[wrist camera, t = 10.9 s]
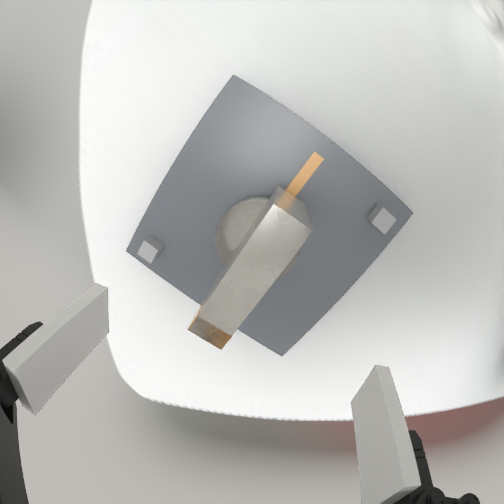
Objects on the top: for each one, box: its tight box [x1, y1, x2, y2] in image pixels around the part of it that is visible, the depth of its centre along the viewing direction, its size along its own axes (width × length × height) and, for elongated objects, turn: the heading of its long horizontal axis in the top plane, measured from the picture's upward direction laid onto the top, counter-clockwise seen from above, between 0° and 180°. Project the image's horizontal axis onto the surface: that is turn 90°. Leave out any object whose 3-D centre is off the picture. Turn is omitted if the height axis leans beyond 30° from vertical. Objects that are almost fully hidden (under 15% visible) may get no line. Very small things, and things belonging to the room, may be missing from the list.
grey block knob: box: [188, 186, 313, 349], centre depth 24 cm, size 11×8×11 cm
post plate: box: [126, 75, 413, 356], centre depth 31 cm, size 24×24×3 cm
